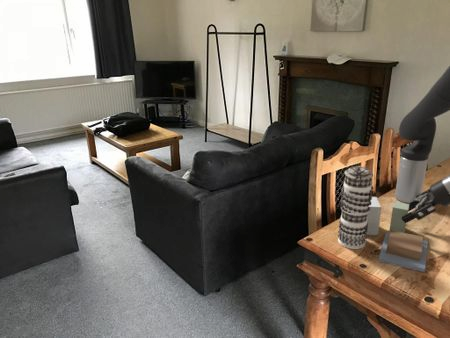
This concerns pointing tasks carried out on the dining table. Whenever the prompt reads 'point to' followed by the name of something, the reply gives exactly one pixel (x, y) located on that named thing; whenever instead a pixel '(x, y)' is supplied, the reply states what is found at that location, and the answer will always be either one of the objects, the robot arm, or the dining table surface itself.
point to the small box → (373, 217)
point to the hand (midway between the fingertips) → (404, 214)
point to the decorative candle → (355, 207)
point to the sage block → (398, 217)
